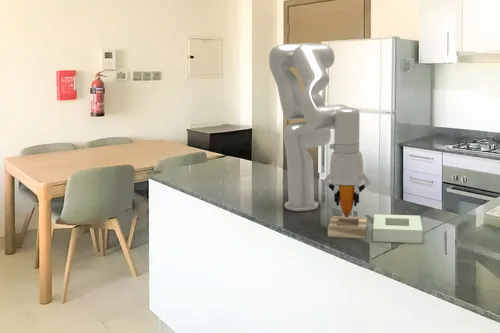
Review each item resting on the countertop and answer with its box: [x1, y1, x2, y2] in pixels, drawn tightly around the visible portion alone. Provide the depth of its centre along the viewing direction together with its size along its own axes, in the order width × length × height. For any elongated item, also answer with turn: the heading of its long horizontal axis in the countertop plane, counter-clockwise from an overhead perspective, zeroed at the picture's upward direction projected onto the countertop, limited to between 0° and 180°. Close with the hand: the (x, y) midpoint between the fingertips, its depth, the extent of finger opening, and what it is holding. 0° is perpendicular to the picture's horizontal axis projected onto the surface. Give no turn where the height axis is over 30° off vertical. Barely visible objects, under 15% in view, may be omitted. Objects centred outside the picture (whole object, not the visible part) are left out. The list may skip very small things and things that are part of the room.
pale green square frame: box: [372, 213, 424, 244], centre depth 158 cm, size 14×14×4 cm
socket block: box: [327, 215, 368, 239], centre depth 163 cm, size 12×12×3 cm
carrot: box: [338, 185, 355, 218], centre depth 161 cm, size 5×5×15 cm
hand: (346, 204), depth 162 cm, fingers closed on carrot, 4 cm apart
